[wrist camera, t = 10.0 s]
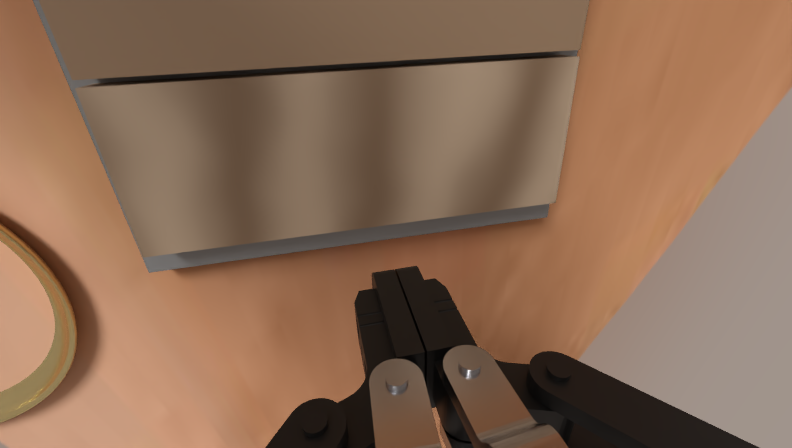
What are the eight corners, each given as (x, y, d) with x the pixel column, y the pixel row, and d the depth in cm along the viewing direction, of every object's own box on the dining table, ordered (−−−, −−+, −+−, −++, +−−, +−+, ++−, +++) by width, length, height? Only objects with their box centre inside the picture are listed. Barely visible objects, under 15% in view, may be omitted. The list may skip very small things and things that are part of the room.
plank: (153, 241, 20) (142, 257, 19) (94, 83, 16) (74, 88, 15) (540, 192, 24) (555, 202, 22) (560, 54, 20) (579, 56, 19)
